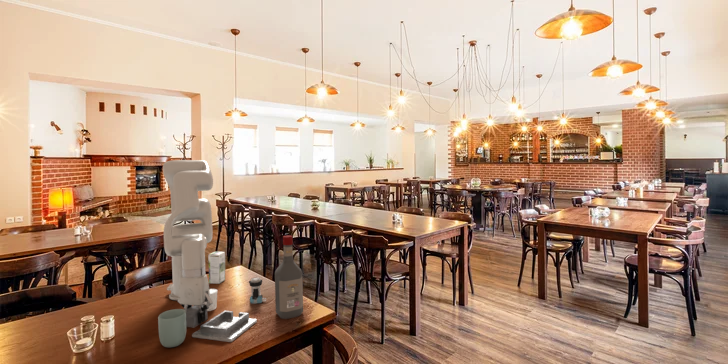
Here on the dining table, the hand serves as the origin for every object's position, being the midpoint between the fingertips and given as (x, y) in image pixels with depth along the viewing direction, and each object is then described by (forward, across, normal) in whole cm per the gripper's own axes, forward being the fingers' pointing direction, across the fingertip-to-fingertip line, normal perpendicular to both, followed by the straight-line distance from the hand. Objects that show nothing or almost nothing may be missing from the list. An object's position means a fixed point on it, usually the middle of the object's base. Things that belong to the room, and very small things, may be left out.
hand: (195, 321), depth 127 cm
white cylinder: (+1, -4, +12) cm, 13 cm away
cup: (+1, +4, -15) cm, 15 cm away
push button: (+1, +12, +22) cm, 25 cm away
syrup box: (+1, -22, +41) cm, 47 cm away
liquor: (+1, +30, +15) cm, 33 cm away
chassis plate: (+1, +14, -2) cm, 14 cm away
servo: (+1, 0, 0) cm, 1 cm away
